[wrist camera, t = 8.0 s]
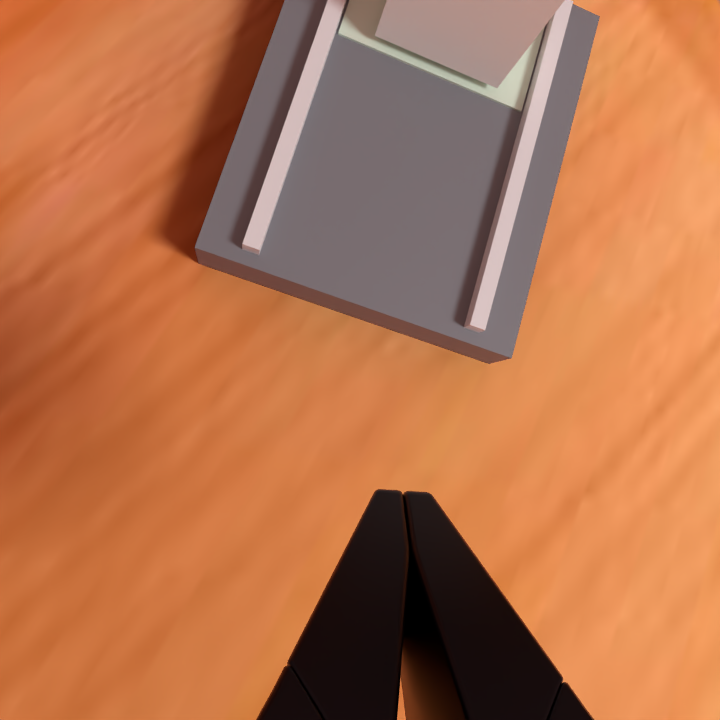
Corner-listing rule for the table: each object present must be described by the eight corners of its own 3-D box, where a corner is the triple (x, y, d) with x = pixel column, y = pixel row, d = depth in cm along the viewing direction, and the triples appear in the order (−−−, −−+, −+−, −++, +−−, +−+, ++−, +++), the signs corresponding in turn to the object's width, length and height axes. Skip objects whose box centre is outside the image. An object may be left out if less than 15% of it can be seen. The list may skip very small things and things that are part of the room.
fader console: (489, 363, 24) (519, 356, 21) (198, 263, 22) (193, 241, 19) (572, 47, 26) (608, 6, 23) (318, -69, 24) (328, -127, 22)
